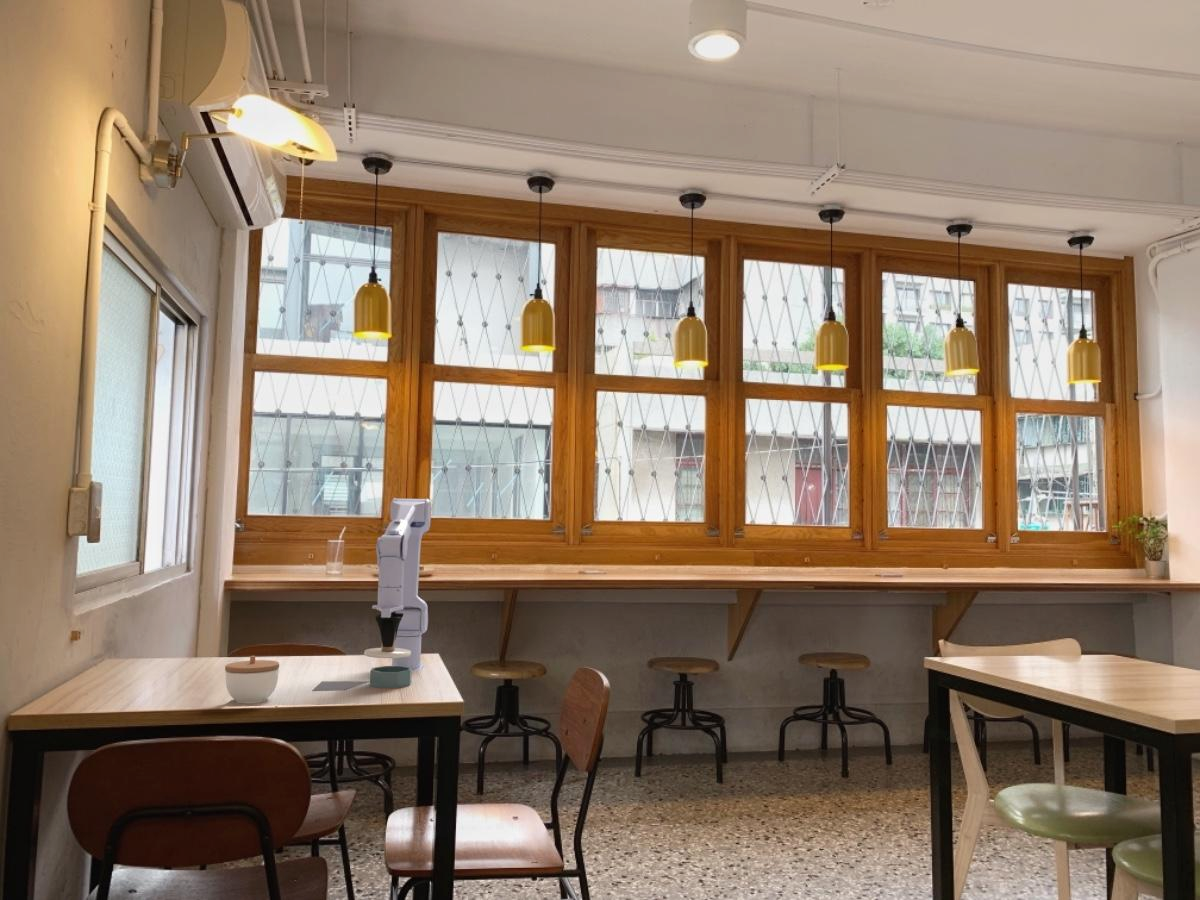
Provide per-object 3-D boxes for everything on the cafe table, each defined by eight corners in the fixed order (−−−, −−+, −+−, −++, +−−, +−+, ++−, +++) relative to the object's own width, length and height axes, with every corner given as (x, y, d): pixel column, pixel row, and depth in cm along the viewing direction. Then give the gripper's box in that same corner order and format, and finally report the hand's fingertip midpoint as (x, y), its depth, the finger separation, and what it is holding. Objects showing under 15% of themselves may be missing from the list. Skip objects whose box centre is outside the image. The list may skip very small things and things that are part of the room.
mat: (321, 683, 214) (321, 681, 214) (369, 683, 215) (369, 681, 215) (311, 692, 203) (312, 690, 203) (362, 692, 204) (362, 690, 204)
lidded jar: (287, 696, 198) (288, 652, 198) (264, 706, 187) (265, 660, 188) (239, 695, 199) (240, 652, 199) (214, 705, 188) (215, 659, 189)
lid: (367, 650, 216) (369, 628, 217) (412, 651, 218) (414, 629, 218) (361, 657, 206) (362, 634, 206) (408, 658, 207) (409, 635, 208)
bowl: (373, 683, 215) (374, 665, 216) (412, 682, 216) (413, 665, 217) (368, 690, 206) (368, 672, 207) (408, 690, 207) (409, 672, 208)
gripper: (377, 584, 220) (375, 641, 219) (368, 589, 205) (366, 650, 204) (407, 584, 220) (405, 641, 219) (400, 589, 206) (398, 650, 205)
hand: (388, 645), depth 212 cm, fingers closed on lid, 3 cm apart
